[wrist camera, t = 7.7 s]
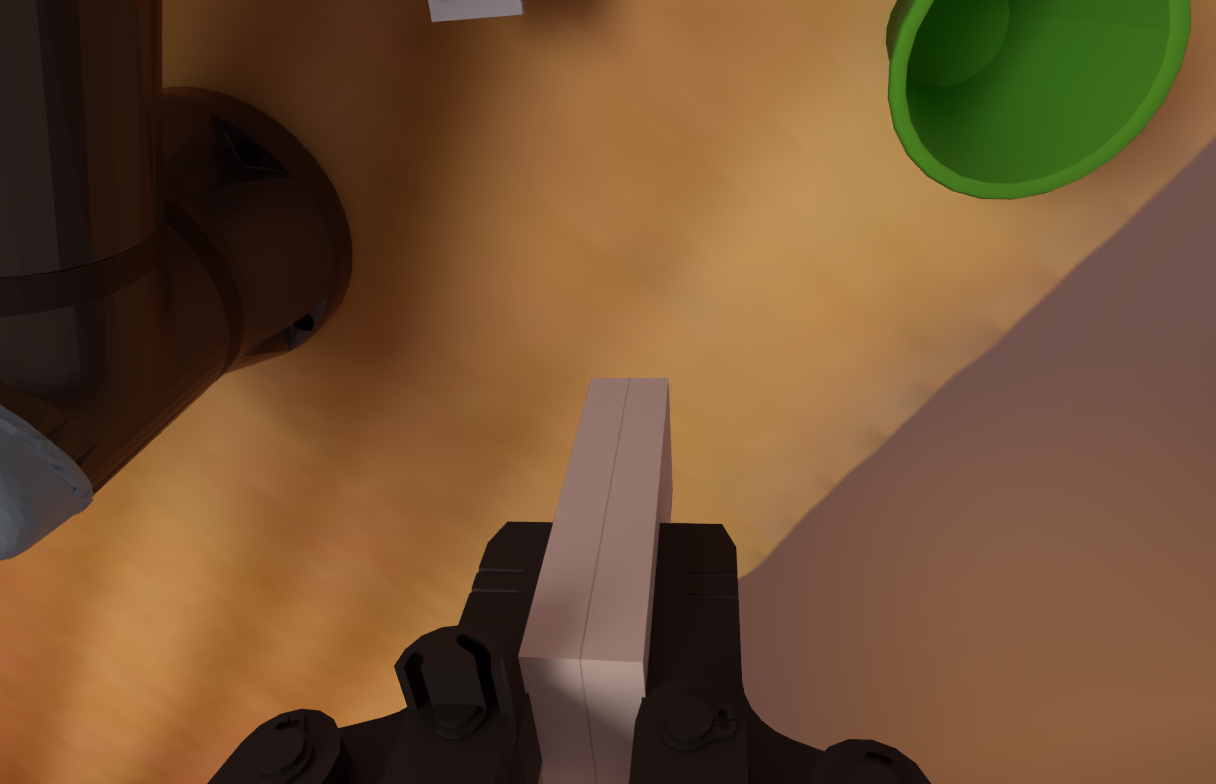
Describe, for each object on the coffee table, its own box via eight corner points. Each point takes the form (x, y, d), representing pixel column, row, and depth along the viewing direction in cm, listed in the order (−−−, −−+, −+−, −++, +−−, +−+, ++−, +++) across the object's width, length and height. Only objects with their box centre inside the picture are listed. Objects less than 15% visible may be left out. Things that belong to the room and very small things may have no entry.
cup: (830, -58, 32) (879, -52, 23) (1060, -123, 30) (1216, -145, 21) (850, 149, 37) (897, 224, 27) (1052, 104, 35) (1177, 169, 25)
